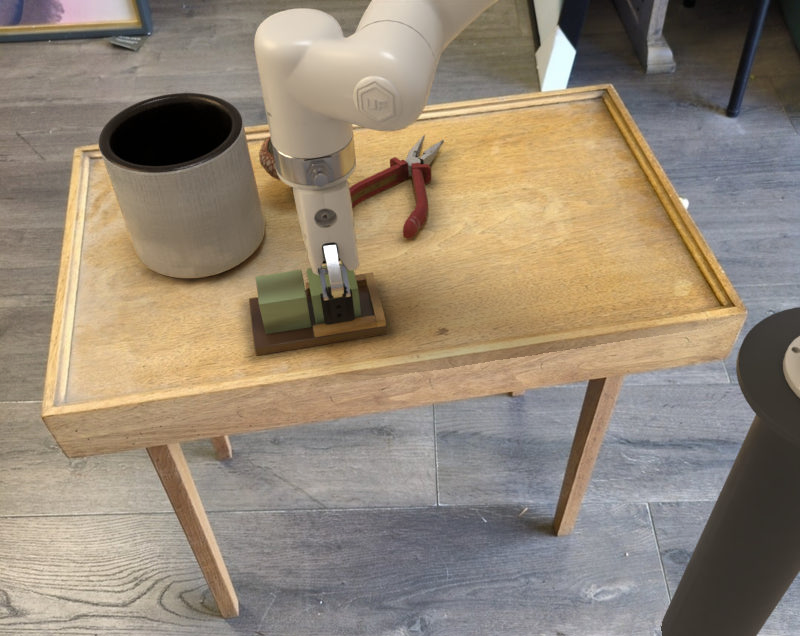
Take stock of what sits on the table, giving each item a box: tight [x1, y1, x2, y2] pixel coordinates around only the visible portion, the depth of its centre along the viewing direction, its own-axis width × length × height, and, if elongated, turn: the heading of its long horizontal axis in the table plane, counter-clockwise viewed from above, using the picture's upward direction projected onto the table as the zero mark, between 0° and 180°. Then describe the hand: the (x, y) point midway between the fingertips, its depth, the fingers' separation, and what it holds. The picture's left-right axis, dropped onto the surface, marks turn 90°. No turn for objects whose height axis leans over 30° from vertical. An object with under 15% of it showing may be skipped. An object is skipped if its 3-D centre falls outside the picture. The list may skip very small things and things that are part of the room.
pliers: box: [349, 134, 445, 240], centre depth 107 cm, size 12×20×3 cm, turn 156°
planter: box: [98, 92, 266, 279], centre depth 97 cm, size 16×16×16 cm
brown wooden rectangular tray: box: [248, 269, 388, 356], centre depth 91 cm, size 8×14×6 cm, turn 101°
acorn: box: [258, 136, 293, 193], centre depth 105 cm, size 8×8×10 cm
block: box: [306, 262, 361, 325], centre depth 91 cm, size 4×5×4 cm
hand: (333, 290), depth 90 cm, fingers open, 9 cm apart
